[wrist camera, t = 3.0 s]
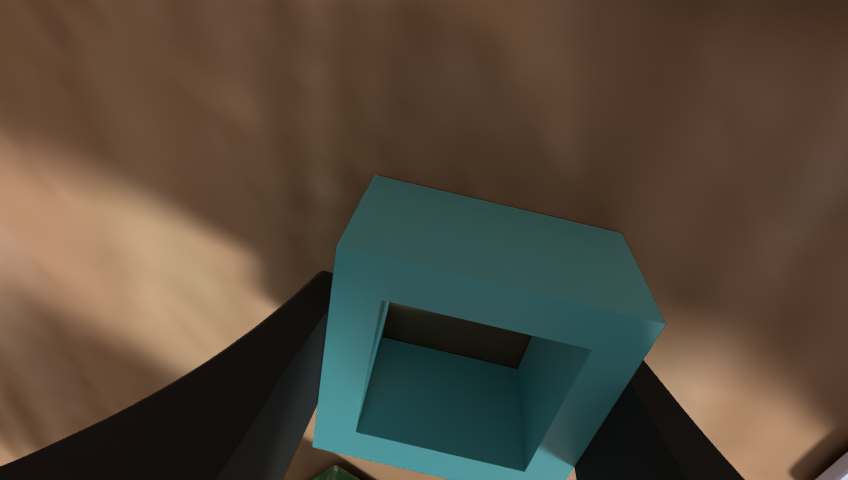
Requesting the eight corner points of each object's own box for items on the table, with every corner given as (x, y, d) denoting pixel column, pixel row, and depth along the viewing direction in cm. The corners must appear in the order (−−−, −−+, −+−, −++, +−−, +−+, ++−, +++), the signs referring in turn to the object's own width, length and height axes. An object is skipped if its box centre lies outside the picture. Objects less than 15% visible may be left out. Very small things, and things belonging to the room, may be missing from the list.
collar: (622, 233, 10) (666, 324, 8) (538, 398, 13) (550, 503, 11) (374, 174, 10) (335, 246, 8) (346, 352, 13) (312, 447, 11)
